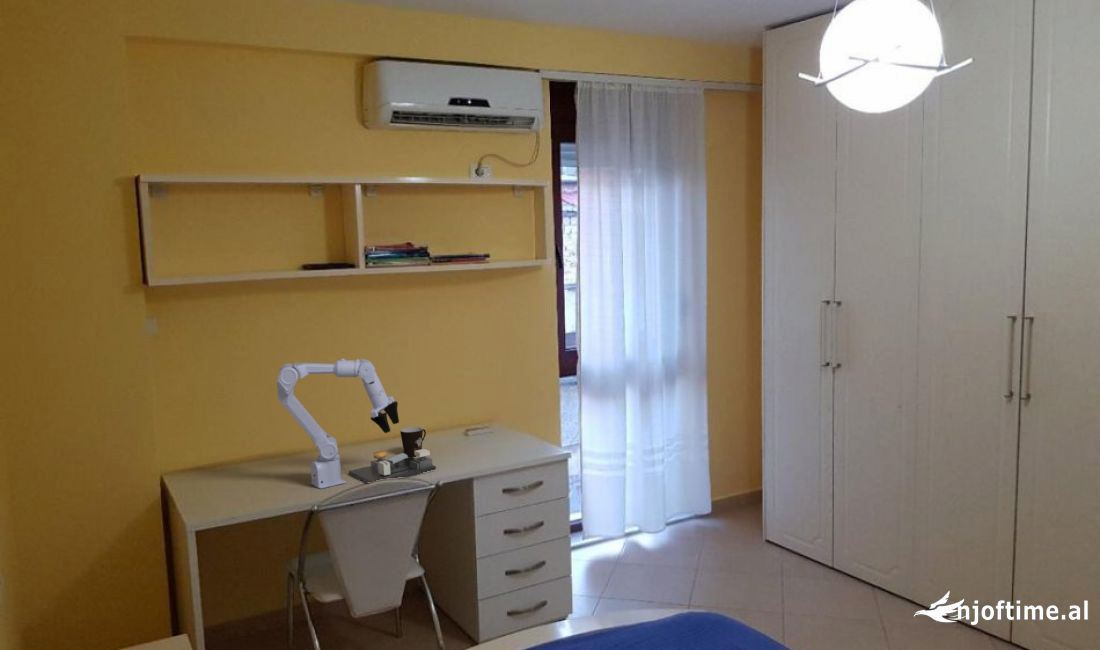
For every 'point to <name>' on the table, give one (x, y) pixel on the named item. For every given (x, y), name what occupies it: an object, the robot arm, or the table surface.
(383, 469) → the slider knob
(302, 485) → the table surface
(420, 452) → the square button
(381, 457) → the round button
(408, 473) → the panel
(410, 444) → the coffee mug
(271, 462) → the table surface
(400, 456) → the rocker
